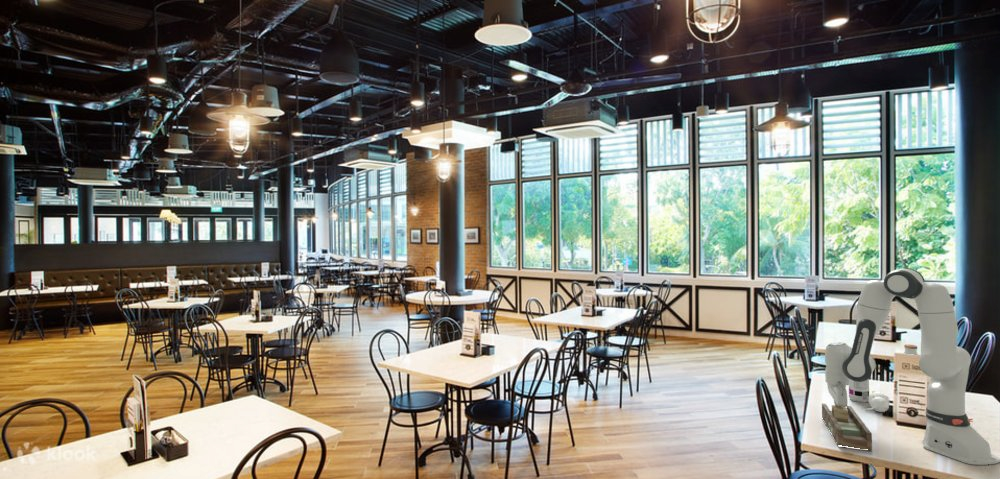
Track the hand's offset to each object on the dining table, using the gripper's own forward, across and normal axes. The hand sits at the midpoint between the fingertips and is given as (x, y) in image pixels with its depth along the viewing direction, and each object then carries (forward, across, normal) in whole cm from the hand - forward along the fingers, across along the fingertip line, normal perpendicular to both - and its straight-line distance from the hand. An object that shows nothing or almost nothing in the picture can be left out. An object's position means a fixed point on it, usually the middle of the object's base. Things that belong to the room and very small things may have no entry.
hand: (837, 409), depth 222 cm
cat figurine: (+6, +23, -20) cm, 31 cm away
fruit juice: (+6, +40, -38) cm, 55 cm away
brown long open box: (+6, -13, 0) cm, 15 cm away
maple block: (+2, -4, 0) cm, 5 cm away
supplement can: (+6, +36, -16) cm, 40 cm away
